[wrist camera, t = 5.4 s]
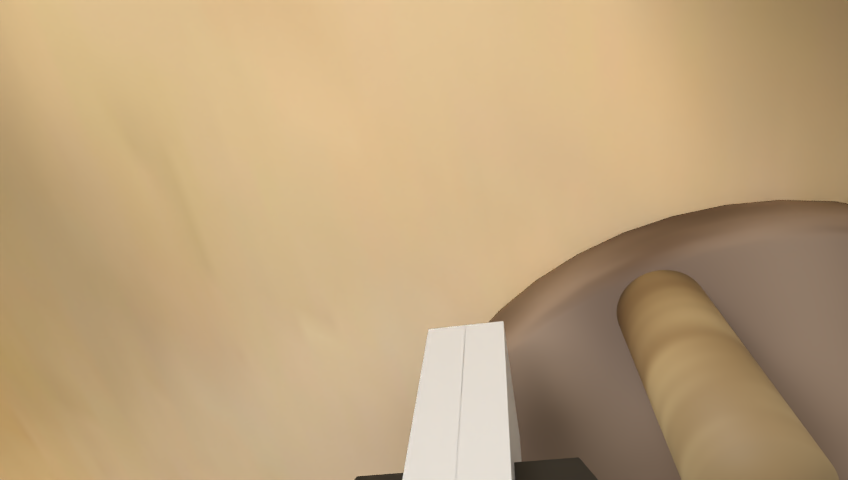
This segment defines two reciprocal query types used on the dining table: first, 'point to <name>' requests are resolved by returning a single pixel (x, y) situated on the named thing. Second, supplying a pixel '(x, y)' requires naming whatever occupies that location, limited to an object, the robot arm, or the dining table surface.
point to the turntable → (692, 348)
